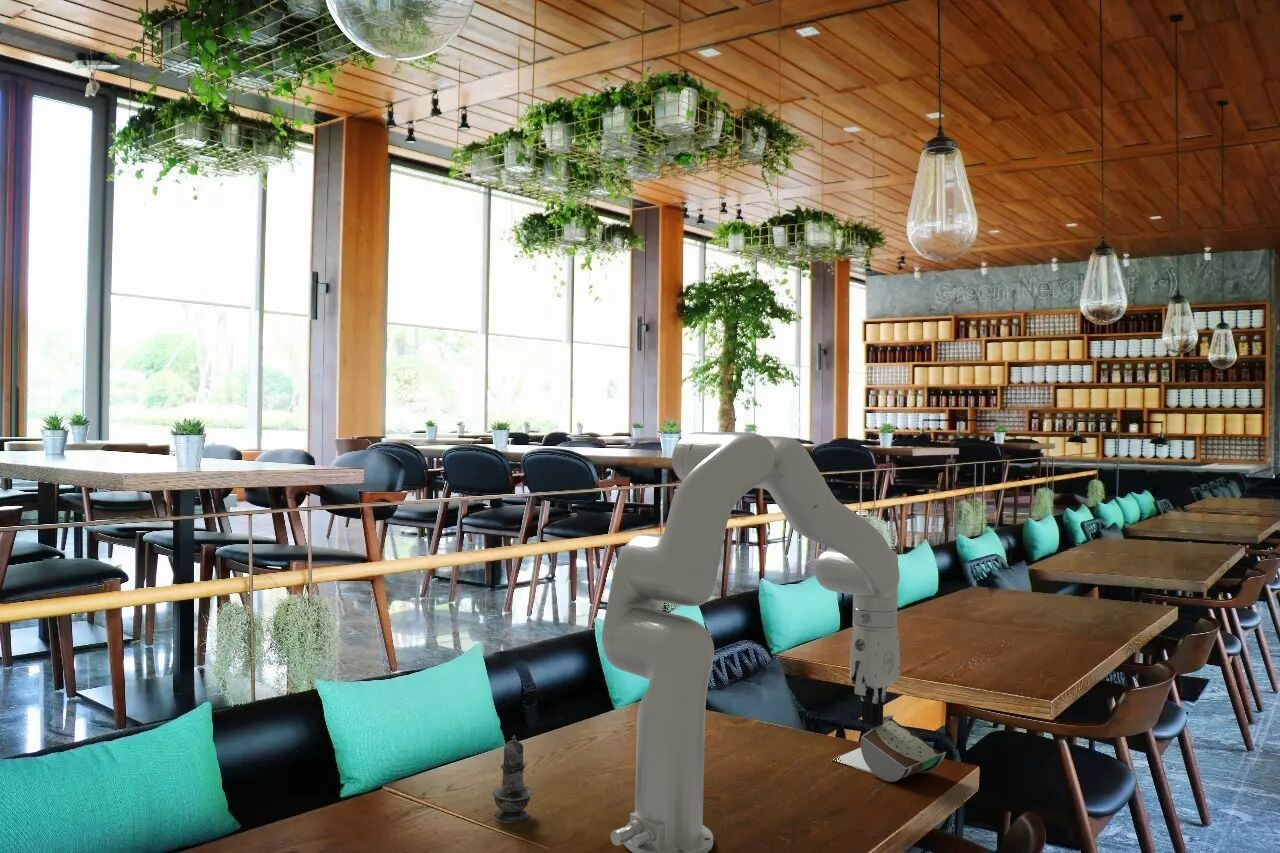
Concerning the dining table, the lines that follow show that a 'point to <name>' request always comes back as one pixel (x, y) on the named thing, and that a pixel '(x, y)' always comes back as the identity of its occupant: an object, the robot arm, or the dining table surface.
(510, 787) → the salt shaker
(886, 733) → the food container
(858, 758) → the mat
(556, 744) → the dining table surface
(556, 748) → the dining table surface
